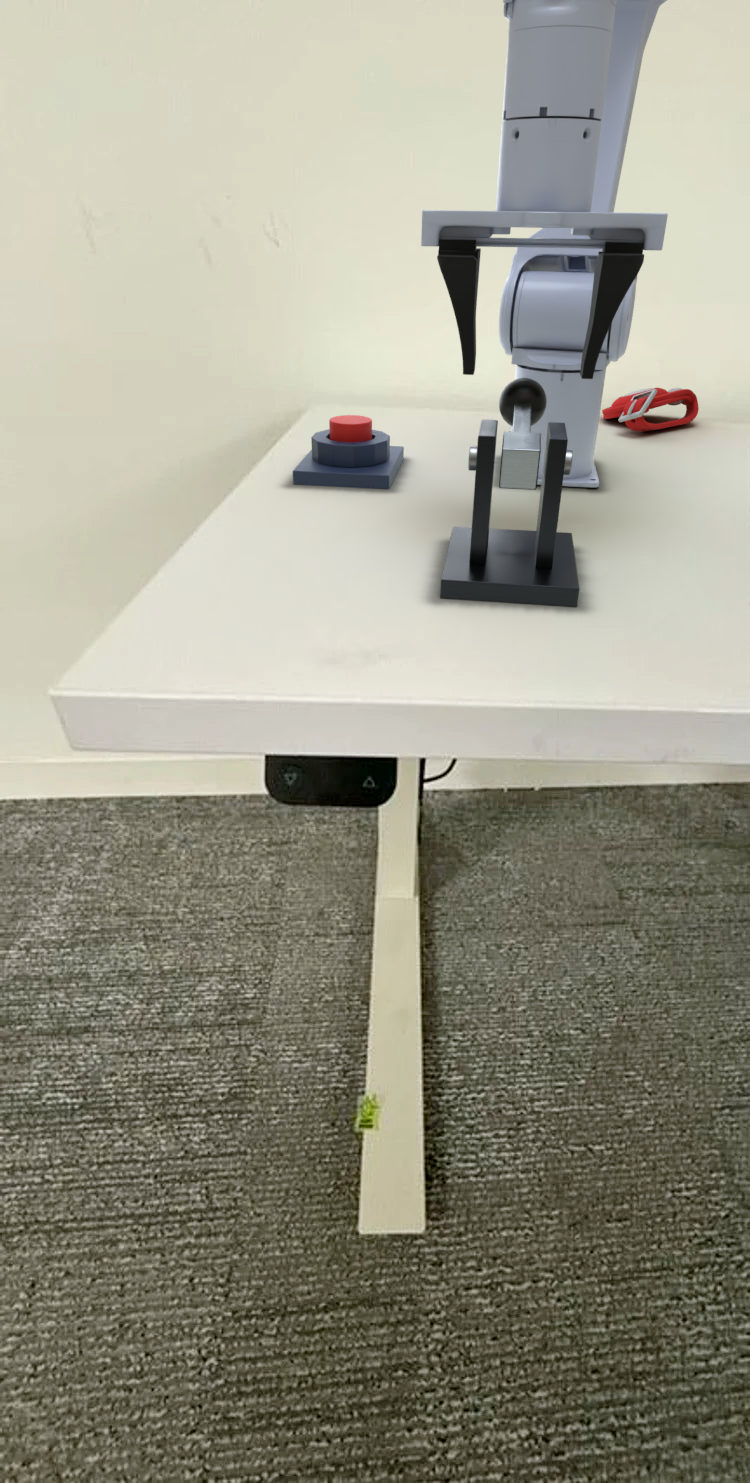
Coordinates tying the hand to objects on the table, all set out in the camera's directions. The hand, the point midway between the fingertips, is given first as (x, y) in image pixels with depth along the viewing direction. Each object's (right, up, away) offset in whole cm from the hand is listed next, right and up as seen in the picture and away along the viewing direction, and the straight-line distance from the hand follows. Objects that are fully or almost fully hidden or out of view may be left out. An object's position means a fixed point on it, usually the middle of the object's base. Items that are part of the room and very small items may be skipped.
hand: (527, 374), depth 57 cm
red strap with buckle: (+18, +9, +35) cm, 40 cm away
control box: (-12, -1, +18) cm, 22 cm away
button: (-12, +1, +17) cm, 21 cm away
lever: (-1, -6, -1) cm, 6 cm away
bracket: (-2, -14, -2) cm, 14 cm away
